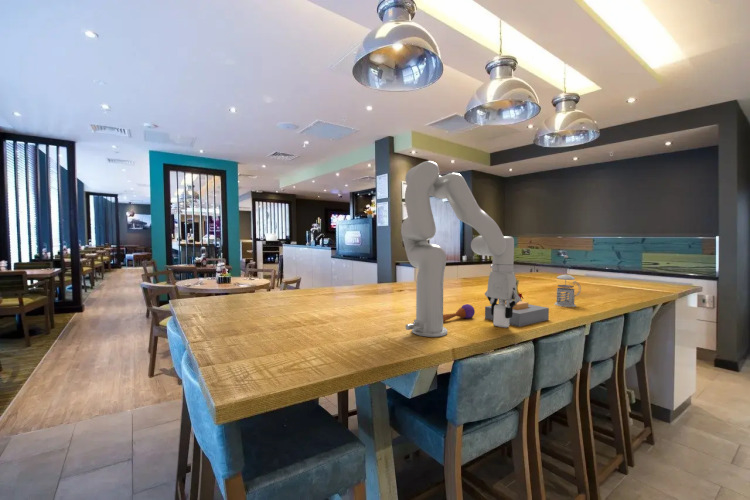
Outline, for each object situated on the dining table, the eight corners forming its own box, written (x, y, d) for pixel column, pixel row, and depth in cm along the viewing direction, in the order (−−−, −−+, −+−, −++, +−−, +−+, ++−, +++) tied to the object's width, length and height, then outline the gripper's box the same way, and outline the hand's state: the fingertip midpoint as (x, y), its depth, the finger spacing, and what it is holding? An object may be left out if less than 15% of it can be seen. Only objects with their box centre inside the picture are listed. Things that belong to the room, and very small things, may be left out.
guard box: (519, 326, 130) (519, 313, 130) (484, 318, 144) (485, 306, 143) (548, 319, 141) (548, 307, 141) (514, 312, 155) (514, 301, 154)
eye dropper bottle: (502, 328, 127) (503, 296, 127) (491, 324, 132) (492, 294, 132) (511, 327, 129) (512, 295, 128) (500, 323, 134) (501, 293, 134)
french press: (559, 302, 180) (560, 254, 179) (583, 305, 171) (584, 255, 170) (550, 304, 174) (551, 255, 173) (575, 308, 165) (577, 256, 164)
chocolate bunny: (501, 308, 163) (501, 277, 162) (515, 306, 169) (516, 276, 168) (514, 311, 157) (514, 279, 157) (528, 308, 163) (528, 277, 163)
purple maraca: (431, 312, 138) (465, 303, 149) (434, 326, 138) (468, 316, 149) (441, 312, 133) (476, 302, 144) (444, 327, 133) (478, 317, 144)
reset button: (517, 311, 138) (517, 304, 138) (505, 309, 142) (505, 302, 142) (528, 309, 142) (528, 302, 142) (516, 307, 147) (516, 300, 147)
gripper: (478, 267, 135) (476, 312, 136) (517, 271, 121) (515, 322, 121) (490, 266, 139) (489, 310, 140) (529, 270, 125) (528, 319, 125)
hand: (501, 315), depth 131 cm, fingers closed on eye dropper bottle, 5 cm apart
